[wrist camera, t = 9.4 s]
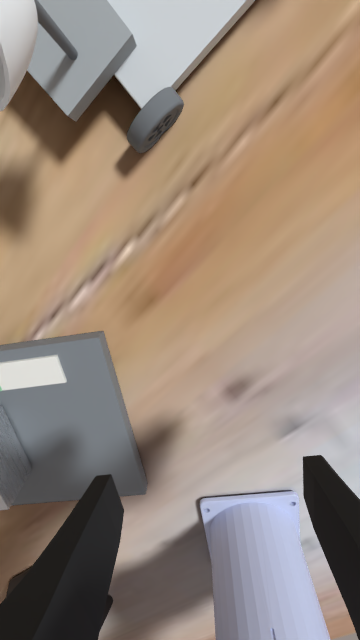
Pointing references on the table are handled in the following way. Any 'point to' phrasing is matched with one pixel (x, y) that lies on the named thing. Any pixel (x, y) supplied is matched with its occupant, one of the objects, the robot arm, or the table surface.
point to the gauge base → (68, 417)
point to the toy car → (112, 52)
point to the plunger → (11, 463)
